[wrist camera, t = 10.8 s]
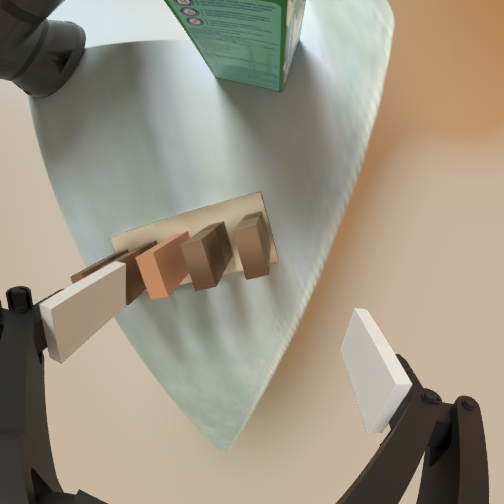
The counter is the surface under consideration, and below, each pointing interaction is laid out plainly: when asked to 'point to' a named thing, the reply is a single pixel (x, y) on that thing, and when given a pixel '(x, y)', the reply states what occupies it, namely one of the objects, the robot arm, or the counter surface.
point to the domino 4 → (253, 245)
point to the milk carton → (244, 37)
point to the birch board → (200, 228)
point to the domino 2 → (133, 271)
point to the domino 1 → (96, 266)
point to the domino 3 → (207, 255)
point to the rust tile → (164, 266)
